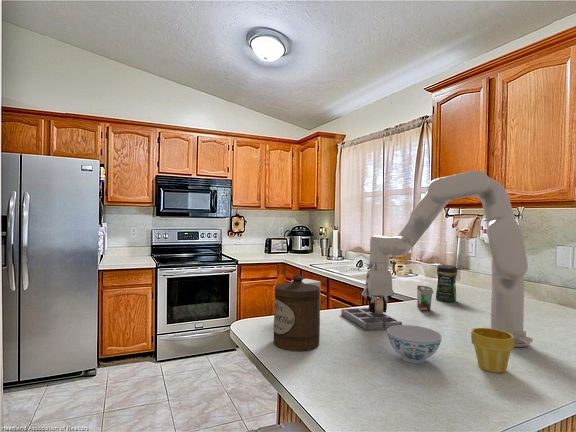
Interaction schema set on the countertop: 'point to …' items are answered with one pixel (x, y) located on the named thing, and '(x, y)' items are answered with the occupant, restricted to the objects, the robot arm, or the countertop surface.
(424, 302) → the food container
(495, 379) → the countertop surface
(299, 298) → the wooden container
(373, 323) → the grey compartment tray
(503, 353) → the plant pot
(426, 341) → the chinaware
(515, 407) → the countertop surface
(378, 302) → the egg
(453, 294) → the coffee jar
